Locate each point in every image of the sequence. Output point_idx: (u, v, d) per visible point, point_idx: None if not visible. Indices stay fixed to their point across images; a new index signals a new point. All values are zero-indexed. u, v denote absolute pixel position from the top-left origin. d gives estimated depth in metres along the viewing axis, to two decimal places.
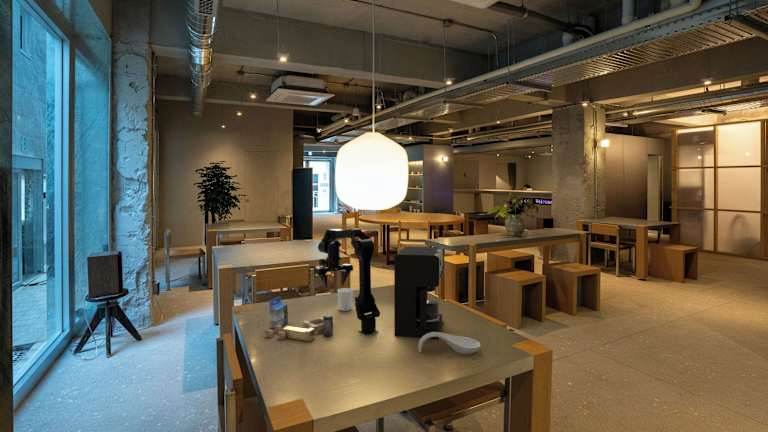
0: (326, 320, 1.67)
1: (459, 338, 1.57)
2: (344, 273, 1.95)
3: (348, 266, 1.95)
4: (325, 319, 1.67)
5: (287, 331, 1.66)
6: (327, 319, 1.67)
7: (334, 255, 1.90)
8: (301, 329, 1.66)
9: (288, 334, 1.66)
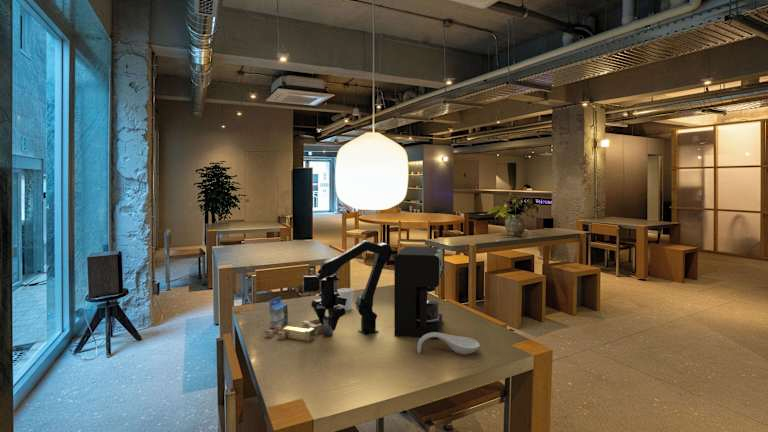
0: (326, 320, 1.67)
1: (458, 338, 1.57)
2: None
3: (330, 310, 1.61)
4: (325, 319, 1.67)
5: (287, 331, 1.66)
6: (327, 319, 1.67)
7: (321, 291, 1.67)
8: (301, 329, 1.66)
9: (288, 334, 1.66)
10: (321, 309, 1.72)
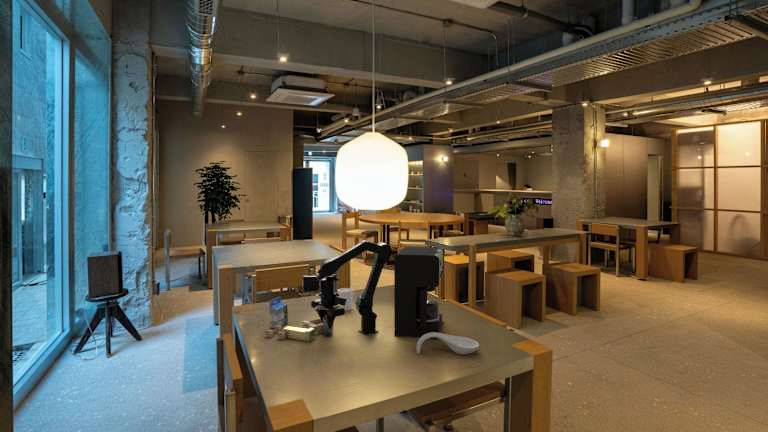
0: None
1: (457, 338, 1.57)
2: None
3: (329, 310, 1.61)
4: (325, 318, 1.67)
5: (287, 331, 1.66)
6: None
7: None
8: (301, 329, 1.66)
9: (288, 334, 1.66)
10: (323, 310, 1.70)
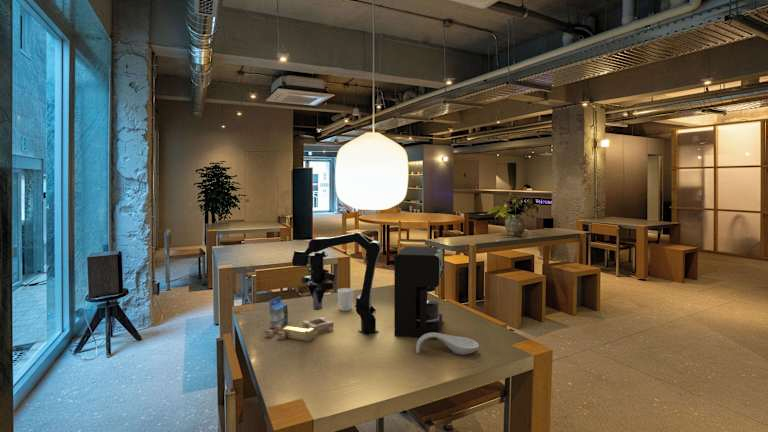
0: None
1: (457, 338, 1.57)
2: None
3: (319, 284, 1.68)
4: (314, 293, 1.73)
5: (287, 331, 1.66)
6: None
7: (310, 266, 1.73)
8: (301, 329, 1.66)
9: (288, 334, 1.66)
10: (313, 286, 1.77)
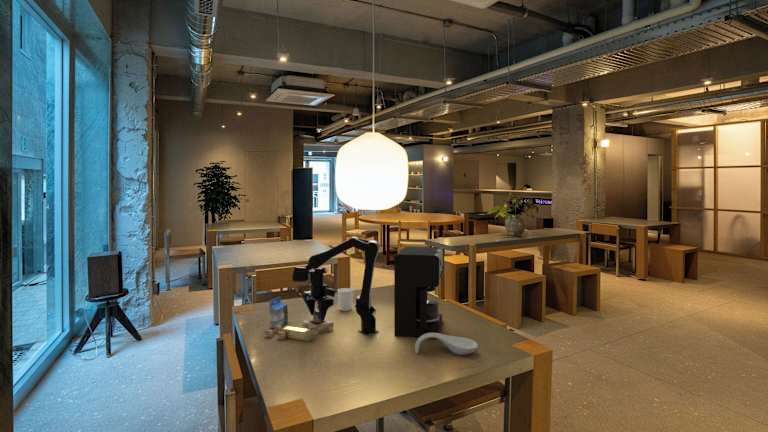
0: (316, 315, 1.74)
1: (456, 339, 1.57)
2: None
3: (319, 300, 1.68)
4: (315, 314, 1.74)
5: (287, 331, 1.66)
6: (317, 314, 1.74)
7: None
8: (301, 329, 1.66)
9: (288, 334, 1.66)
10: (311, 300, 1.79)
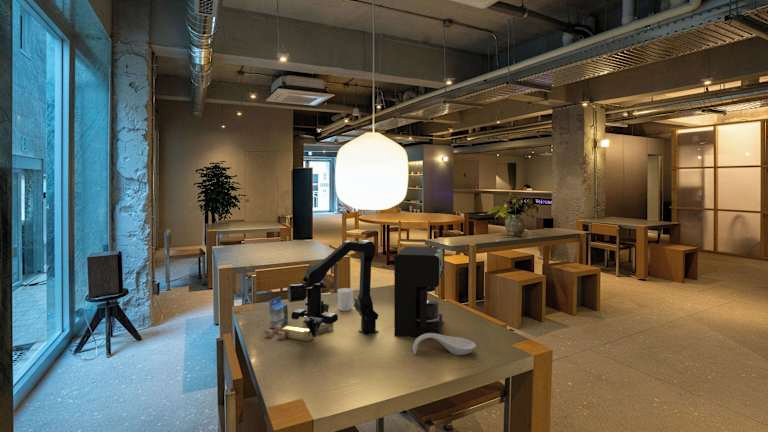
0: None
1: (454, 339, 1.56)
2: None
3: (325, 317, 1.57)
4: None
5: (286, 330, 1.66)
6: None
7: (308, 300, 1.60)
8: (300, 328, 1.66)
9: (287, 334, 1.66)
10: (312, 321, 1.62)
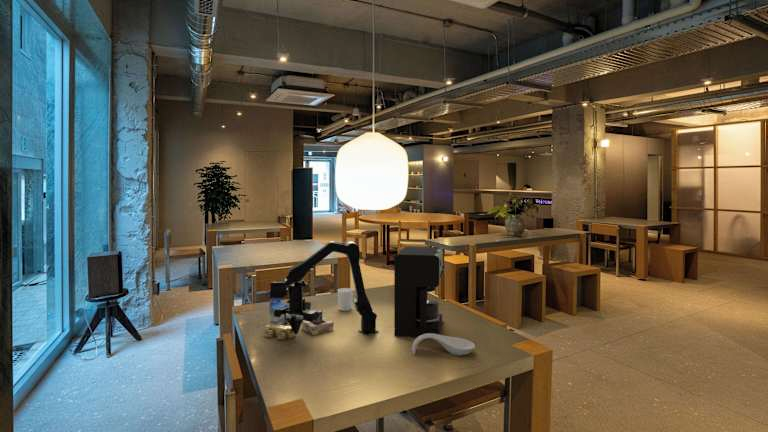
0: None
1: (453, 339, 1.56)
2: None
3: (306, 315, 1.61)
4: None
5: (269, 328, 1.69)
6: None
7: (290, 298, 1.63)
8: (282, 326, 1.69)
9: None
10: (294, 318, 1.66)
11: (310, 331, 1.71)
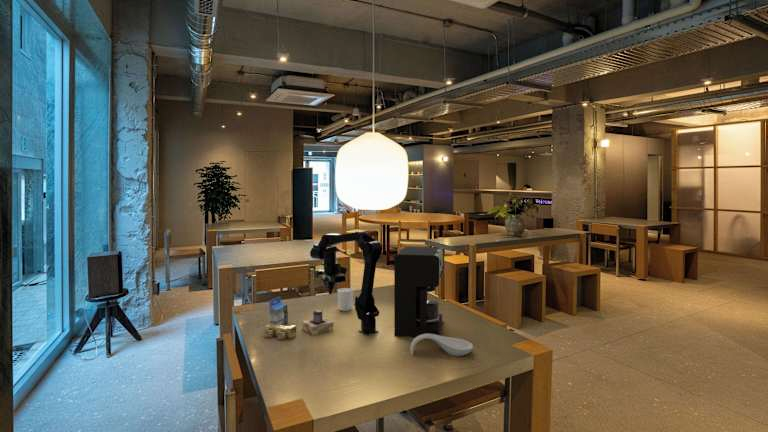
0: (316, 315, 1.74)
1: (451, 340, 1.56)
2: None
3: (332, 276, 1.79)
4: (315, 314, 1.74)
5: (269, 328, 1.69)
6: (317, 314, 1.74)
7: None
8: (282, 326, 1.69)
9: None
10: (328, 279, 1.86)
11: (310, 331, 1.71)
